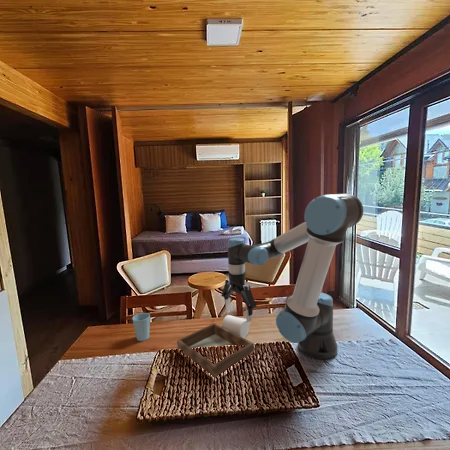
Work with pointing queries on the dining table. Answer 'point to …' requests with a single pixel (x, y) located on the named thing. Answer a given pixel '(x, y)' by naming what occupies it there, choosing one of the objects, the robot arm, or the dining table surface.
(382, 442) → the dining table surface
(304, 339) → the robot arm
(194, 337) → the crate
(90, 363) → the dining table surface
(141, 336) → the cup
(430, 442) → the dining table surface
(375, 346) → the dining table surface
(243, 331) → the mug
